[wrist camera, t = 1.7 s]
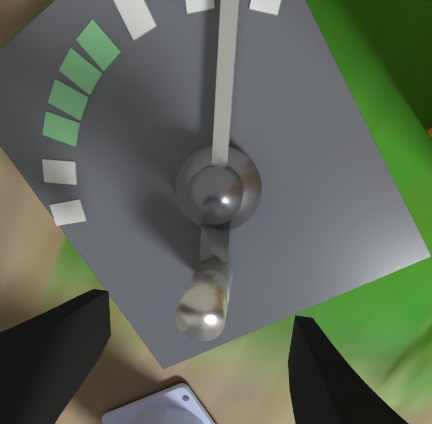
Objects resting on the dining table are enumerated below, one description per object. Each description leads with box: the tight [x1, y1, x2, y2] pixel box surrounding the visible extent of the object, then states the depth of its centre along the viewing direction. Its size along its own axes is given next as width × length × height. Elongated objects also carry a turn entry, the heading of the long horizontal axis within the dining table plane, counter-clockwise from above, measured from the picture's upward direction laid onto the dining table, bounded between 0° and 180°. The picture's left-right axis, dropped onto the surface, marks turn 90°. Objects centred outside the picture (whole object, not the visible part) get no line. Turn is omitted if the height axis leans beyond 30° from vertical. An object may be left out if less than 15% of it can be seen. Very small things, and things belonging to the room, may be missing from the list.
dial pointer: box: [175, 0, 262, 341], centre depth 12 cm, size 14×4×4 cm, turn 177°
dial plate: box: [0, 0, 431, 369], centre depth 16 cm, size 19×16×3 cm
